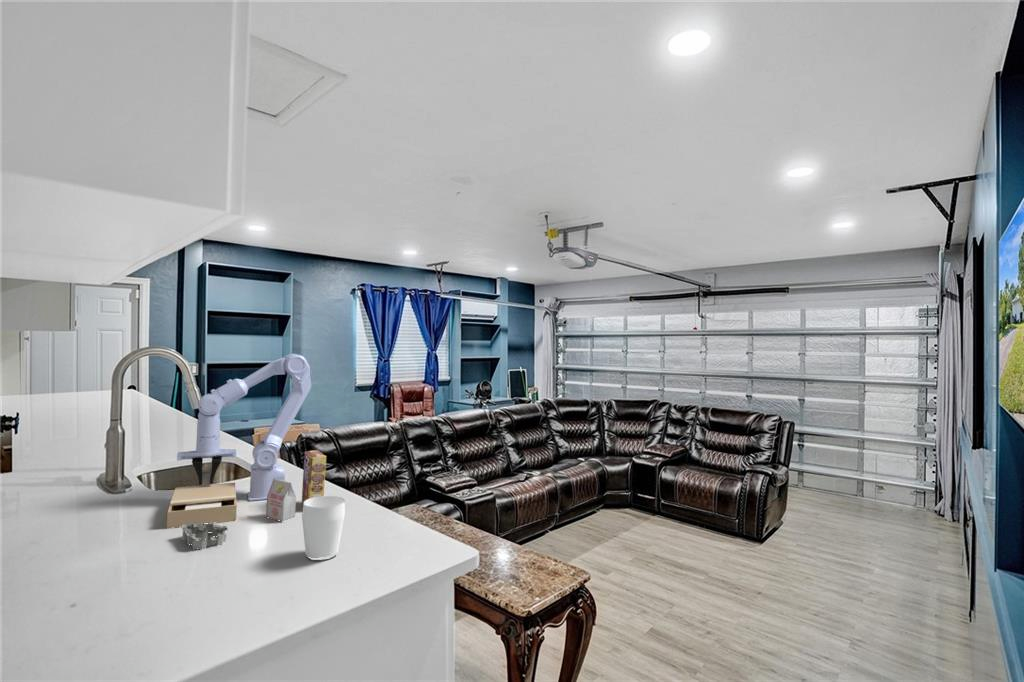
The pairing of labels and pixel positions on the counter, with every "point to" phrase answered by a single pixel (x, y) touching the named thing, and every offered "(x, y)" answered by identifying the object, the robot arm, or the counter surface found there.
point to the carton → (201, 513)
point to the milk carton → (281, 501)
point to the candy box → (313, 475)
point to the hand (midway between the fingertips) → (206, 483)
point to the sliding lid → (204, 492)
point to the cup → (322, 525)
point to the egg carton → (203, 534)
